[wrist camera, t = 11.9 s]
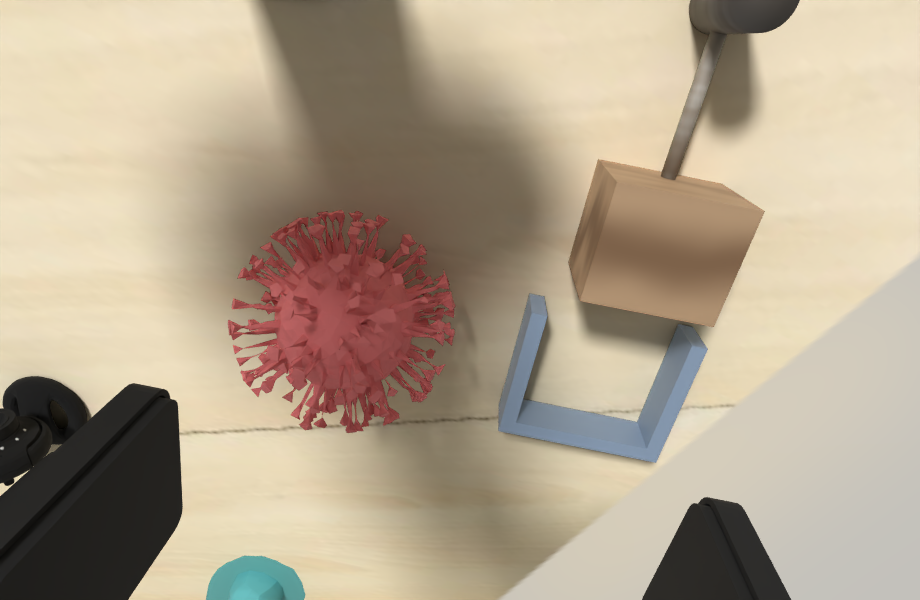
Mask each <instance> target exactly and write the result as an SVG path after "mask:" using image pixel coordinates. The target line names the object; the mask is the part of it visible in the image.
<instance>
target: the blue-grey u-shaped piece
mask: <svg viewBox="0 0 920 600" xmlns="http://www.w3.org/2000/svg"><path fill="white" fill-rule="evenodd" d="M547 317H548V316H547V310H546V304H545V298H544V296H540V295H535V294H529V297H528V301H527V305H526V308H525V312H524V316H523V319H522V323H521V326H520V330H519V334H518V337H517V341H516V345H515V348H514V352H513V356H512V359H511V363H510V366H509V370H508V374H507V377H506V381H505V385H504V388H503V392H502V395H501V399H500V403H499V428H498V431H501V432H506V433H511V434H516V435H521V436H526V437H531V438H536V439H541V440H546V441H551V442H556V443H561V444H566V445H570V446H575V447H580V448H585V449H590V450H595V451H600V452H605V453H610V454H615V455H620V456H625V457H630V458H635V459H640V460H645V461H650V462H655V463H656V461H657V459H658V457H659V455H660V453H661V450H662V448H663V446H664V444H665V442H666V439H667V437H668V435H669V433H670V431H671V429H672V426H673V424H674V422H675V420H676V418H677V415H678V413H679V411H680V409H681V407H682V404H683V402H684V400H685V398H686V396H687V394H688V391H689V389H690V387H691V385H692V383H693V380H694V378H695V376H696V374H697V372H698V369H699V367H700V365H701V363H702V361H703V359H704V356H705V354H706V352H707V350H708V349H707V347H706V346H705V344H704V343H703V341H702V340H701V338H700V337H699V335H698V334H697V332H696V331H695V329H694V328H693V327H690V326H685V325H681V324H678V326H677V328H676V331H675V333H674V335H673V338H672V340H671V343H670V345H669V347H668V350H667V352H666V355H665V357H664V359H663V362H662V364H661V366H660V369H659V371H658V374H657V376H656V378H655V381H654V383H653V386H652V388H651V390H650V393H649V395H648V397H647V400H646V402H645V405H644V407H643V409H642V412H641V414H640V416H639V419H638V421H637V422H634V421H629V420H624V419H619V418H614V417H610V416H605V415H600V414H595V413H590V412H585V411H580V410H575V409H570V408H565V407H560V406H555V405H550V404H545V403H540V402H535V401H530V400H525V399H523V397H524V394H525V391H526V387H527V384H528V381H529V377H530V374H531V370H532V367H533V364H534V360H535V357H536V354H537V350H538V347H539V344H540V340H541V337H542V333H543V330H544V327H545V323H546V320H547Z"/></svg>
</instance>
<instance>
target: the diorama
mask: <svg viewBox="0 0 920 600" xmlns="http://www.w3.org/2000/svg"><path fill="white" fill-rule="evenodd" d="M304 598H305V592H304V589H303V585H302V582H301V581H300V579H299V577H298V576H297V574H296V572H295V571H294V569H292V568H290V567H288V566H285V565H283V564H281V563H279V562H278V561H276V560H272V559H269V558H266V557H263V556H243V557H240V558H238V559H235V560H233V561H231V562H228V563H226V564H225V565H223V566H222V567H220V568H219V569H218V570H217V571H216V573H215V574H214V575H213V577H212V578H211V581H210V583H209V586H208V592H207V597H206V600H304Z"/></svg>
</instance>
